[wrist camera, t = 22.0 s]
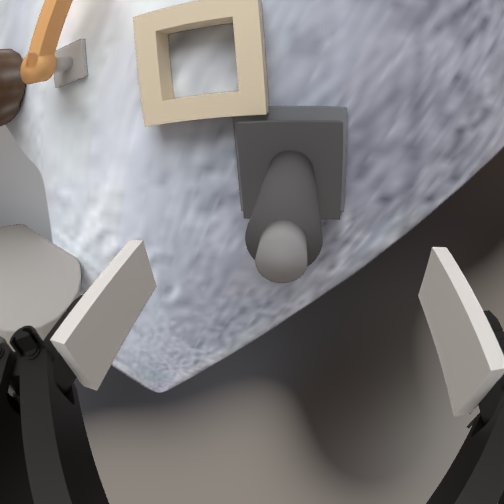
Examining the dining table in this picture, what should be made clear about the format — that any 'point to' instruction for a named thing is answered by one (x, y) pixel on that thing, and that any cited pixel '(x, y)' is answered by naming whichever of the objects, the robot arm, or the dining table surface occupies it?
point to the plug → (288, 190)
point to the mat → (300, 114)
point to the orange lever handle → (45, 42)
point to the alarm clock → (34, 281)
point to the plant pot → (10, 85)
